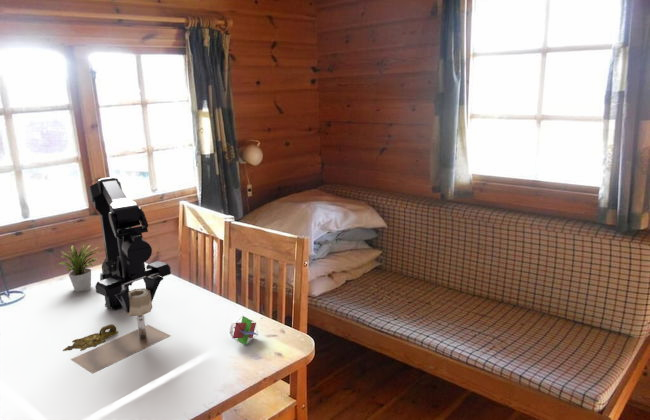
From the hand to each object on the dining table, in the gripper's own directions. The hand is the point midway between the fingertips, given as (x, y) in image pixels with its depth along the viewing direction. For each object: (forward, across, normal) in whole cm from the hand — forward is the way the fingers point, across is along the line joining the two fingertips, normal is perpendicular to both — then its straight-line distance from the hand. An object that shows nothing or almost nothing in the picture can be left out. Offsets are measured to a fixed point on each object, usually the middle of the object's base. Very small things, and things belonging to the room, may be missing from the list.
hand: (138, 307), depth 132 cm
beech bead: (+1, 0, 0) cm, 1 cm away
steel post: (+9, 0, 0) cm, 9 cm away
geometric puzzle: (+10, -16, +23) cm, 30 cm away
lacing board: (+10, +6, 0) cm, 12 cm away
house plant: (+10, -8, -50) cm, 52 cm away
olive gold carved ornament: (+11, +9, -10) cm, 17 cm away
